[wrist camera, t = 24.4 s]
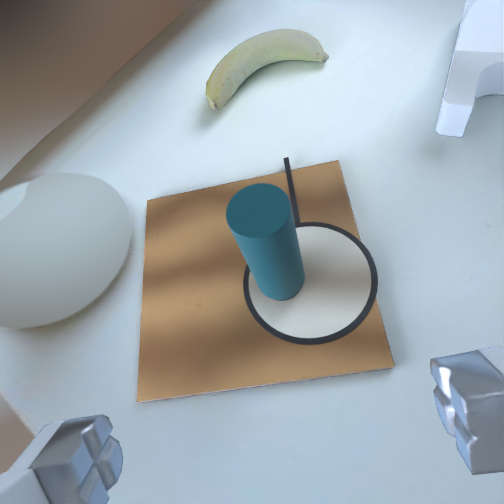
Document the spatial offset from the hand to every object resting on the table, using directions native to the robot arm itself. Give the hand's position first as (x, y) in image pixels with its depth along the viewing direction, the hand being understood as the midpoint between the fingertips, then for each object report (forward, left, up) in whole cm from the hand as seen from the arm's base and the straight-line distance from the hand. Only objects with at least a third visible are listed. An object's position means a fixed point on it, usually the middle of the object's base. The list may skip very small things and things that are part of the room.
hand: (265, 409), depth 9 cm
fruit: (+39, 0, -21) cm, 44 cm away
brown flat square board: (+14, +3, -20) cm, 25 cm away
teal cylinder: (+12, +1, -20) cm, 23 cm away
